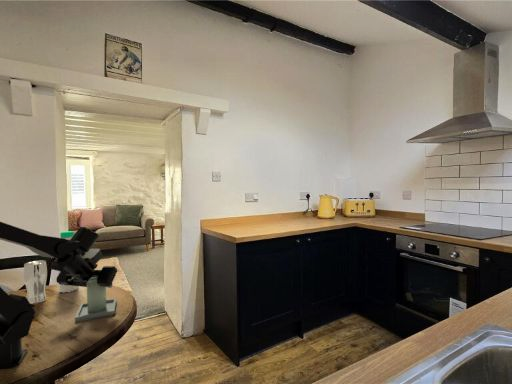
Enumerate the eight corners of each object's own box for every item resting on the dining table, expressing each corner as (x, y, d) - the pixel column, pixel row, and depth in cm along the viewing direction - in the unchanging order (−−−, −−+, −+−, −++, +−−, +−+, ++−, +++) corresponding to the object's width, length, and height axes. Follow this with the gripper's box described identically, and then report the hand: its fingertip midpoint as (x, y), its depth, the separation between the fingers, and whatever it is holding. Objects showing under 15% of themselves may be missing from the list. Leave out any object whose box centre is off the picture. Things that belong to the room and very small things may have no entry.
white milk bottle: (80, 286, 122) (78, 229, 121) (76, 291, 115) (74, 232, 114) (61, 288, 119) (59, 230, 118) (56, 294, 112) (54, 233, 112)
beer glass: (35, 305, 102) (33, 265, 102) (19, 304, 103) (18, 264, 103) (52, 298, 109) (51, 260, 108) (37, 296, 110) (36, 259, 110)
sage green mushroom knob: (107, 311, 96) (106, 277, 95) (84, 315, 93) (83, 280, 92) (108, 303, 102) (107, 271, 101) (87, 306, 99) (86, 274, 98)
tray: (114, 315, 94) (114, 310, 94) (75, 322, 89) (74, 317, 89) (116, 302, 104) (116, 298, 104) (81, 307, 100) (81, 303, 100)
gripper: (113, 243, 92) (132, 266, 103) (62, 242, 94) (86, 265, 105) (98, 274, 84) (120, 295, 95) (42, 272, 86) (70, 293, 97)
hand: (99, 286), depth 99 cm, fingers open, 9 cm apart
